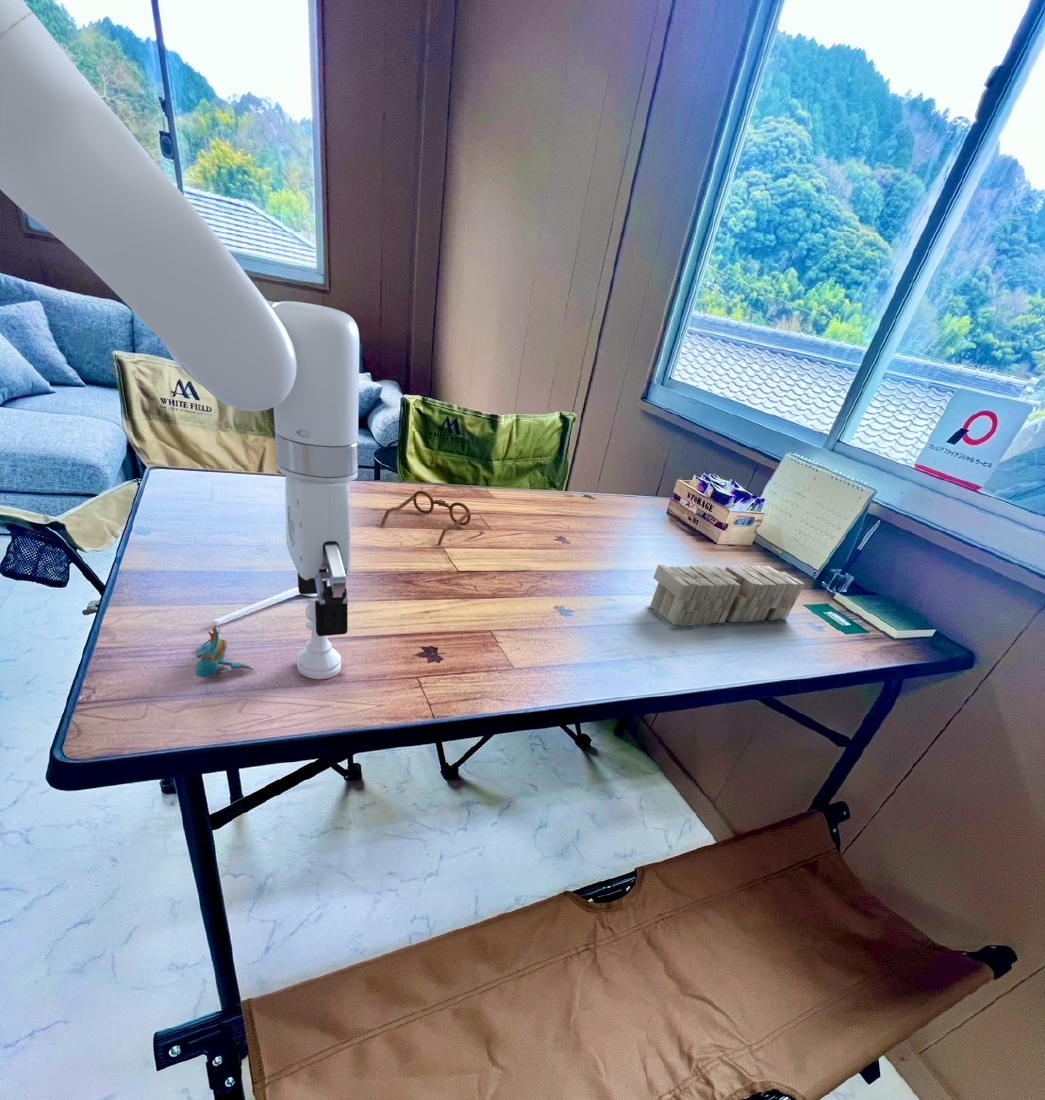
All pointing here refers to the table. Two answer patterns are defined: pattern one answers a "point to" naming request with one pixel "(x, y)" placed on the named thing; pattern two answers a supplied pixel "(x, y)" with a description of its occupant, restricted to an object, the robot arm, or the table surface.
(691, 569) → the block tower
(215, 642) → the dragon figurine
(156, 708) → the table surface
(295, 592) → the fork
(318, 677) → the chess pawn
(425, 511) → the glasses
